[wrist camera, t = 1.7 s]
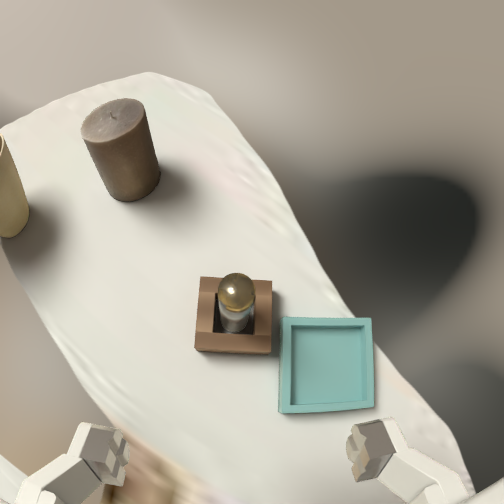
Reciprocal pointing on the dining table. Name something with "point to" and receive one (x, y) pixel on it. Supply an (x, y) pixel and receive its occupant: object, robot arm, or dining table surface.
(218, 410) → the dining table surface
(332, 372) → the teal tray
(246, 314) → the metal peg
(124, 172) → the pillar candle
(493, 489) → the robot arm
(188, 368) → the dining table surface
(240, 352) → the walnut collar
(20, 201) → the plant pot
